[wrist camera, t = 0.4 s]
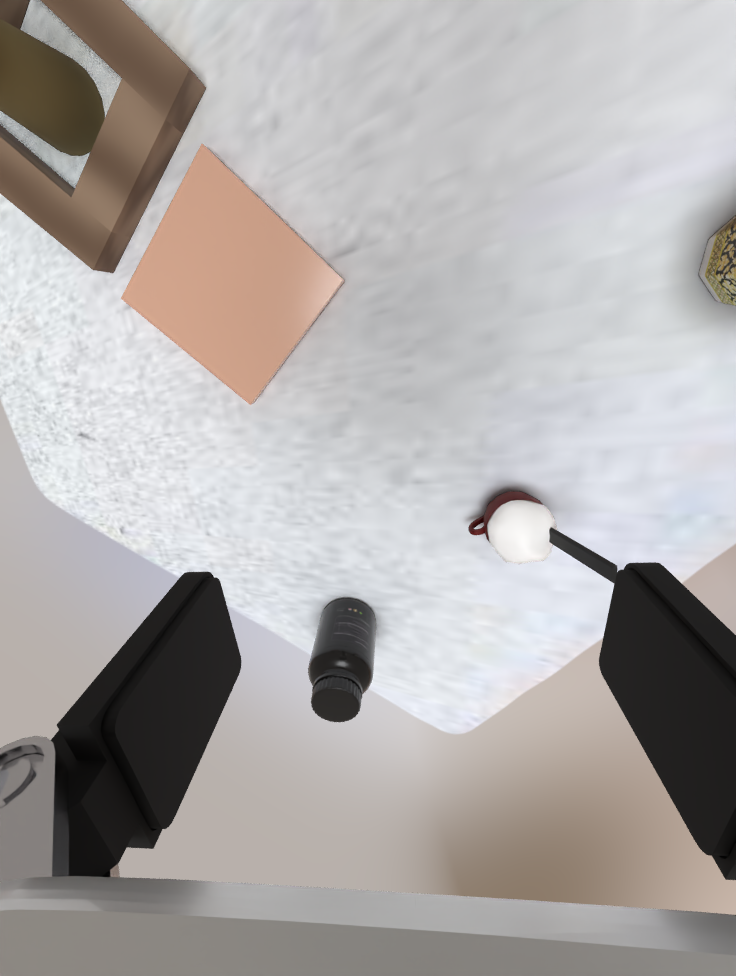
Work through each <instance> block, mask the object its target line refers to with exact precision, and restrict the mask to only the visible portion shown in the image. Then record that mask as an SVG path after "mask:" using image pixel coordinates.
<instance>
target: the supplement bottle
mask: <svg viewBox="0 0 736 976" xmlns="http://www.w3.org/2000/svg"><path fill="white" fill-rule="evenodd" d="M375 635H376V619H375V616H374V614H373V612H372V610H371V609H370V608H369V607H368V606H367V605H365V604H364V603H362V602H360V601H358V600H354V599H339V600H336V601H334V602H332V603H330V604H329V605H328V606H327V607H326V608H325V609H324V611H323V613H322V615H321V619H320V622H319V626H318V630H317V634H316V638H315V642H314V647H313V651H312V655H311V659H310V663H309V668H308V673H309V679H310V681H311V683H312V685H313V690H312V691H313V693H312V699H311V704H312V708H313V710H314V711H315V713H316V714H317V715H318V716H320V717H321V718H323V719H325V720H328V721H333V722H344V721H348V720H350V719H352V718H354V717H355V716H356V715H357V714H358V712H359V711H360V706H361V699H362V694H363V693H364V692H365V691H366V690H367V689H368V688H369V686H370V684H371V682H372V678H373V668H374V651H375Z"/></svg>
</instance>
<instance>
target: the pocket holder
mask: <svg viewBox="0 0 736 976" xmlns="http://www.w3.org/2000/svg"><path fill="white" fill-rule="evenodd" d="M41 1H42V2H43V3H44V4H45V5H46V6H47V7H48V8H49V9H50V10H51V11H52V12H54V13H55V14H56V15H57V16H58V17H59V18H60V19H61V20H62V21H63V22H64V23H65V24H66V25H67V26H68V27H69V28H70V29H71V30H72V31H73V32H74V33H75V34H77V35H78V36H79V37H80V38H81V39H82V40H83V41H84V42H85V43H86V44H87V45H88V46H89V47H90V48H91V49H92V50H93V51H94V52H95V53H96V54H97V55H98V56H100V57H101V58H102V59H103V60H104V61H105V62H106V63H107V64H108V65H109V66H110V67H111V68H112V69H113V70H114V71H115V72H116V73H117V74H118V75H119V76H120V77H121V78H122V80H121V82H120V84H119V87H118V89H117V91H116V94H115V96H114V99H113V101H112V103H111V106H110V108H109V110H108V113H107V115H106V117H105V120H104V122H103V124H102V127H101V129H100V131H99V134H98V136H97V138H96V141H95V143H94V145H93V148H92V150H91V152H90V155H89V157H88V160H87V162H86V164H85V167H84V169H83V171H82V174H81V176H80V178H79V181H78V183H77V185H76V188H75V189H74V188H73V187H72V186H71V185H69V184H68V183H67V182H66V181H65V180H64V179H62V178H61V177H60V176H59V175H58V174H57V173H56V172H54V171H53V170H52V169H51V168H50V167H49V166H47V165H46V164H45V163H44V162H43V161H42V160H40V159H39V158H38V157H37V156H36V155H35V154H34V153H32V152H31V151H30V150H29V149H28V148H27V147H25V146H24V145H23V144H22V143H21V142H20V141H19V140H17V139H16V138H15V137H14V136H13V135H12V134H10V133H9V132H8V131H7V130H6V129H5V128H3V127H2V126H1V125H0V193H1V194H2V195H3V196H4V197H5V198H7V199H8V200H9V201H10V202H11V203H13V204H14V205H15V206H16V207H17V208H19V209H20V210H21V211H22V212H24V213H25V214H26V215H27V216H28V217H30V218H31V219H32V220H33V221H34V222H36V223H37V224H38V225H39V226H40V227H42V228H43V229H44V230H45V231H47V232H48V233H49V234H50V235H51V236H53V237H54V238H55V239H56V240H57V241H59V242H60V243H61V244H62V245H63V246H65V247H66V248H67V249H68V250H70V251H71V252H72V253H73V254H74V255H76V256H77V257H78V258H79V259H80V260H82V261H83V262H84V263H85V264H86V265H88V266H89V267H90V268H91V269H93V270H97V271H104V272H110V273H113V272H114V270H115V268H116V266H117V264H118V262H119V260H120V258H121V256H122V254H123V252H124V250H125V249H126V247H127V245H128V243H129V241H130V239H131V237H132V235H133V233H134V231H135V229H136V227H137V225H138V223H139V221H140V219H141V217H142V215H143V213H144V211H145V209H146V207H147V205H148V203H149V201H150V199H151V197H152V195H153V193H154V191H155V189H156V187H157V185H158V183H159V181H160V179H161V177H162V175H163V173H164V171H165V169H166V167H167V165H168V163H169V161H170V159H171V157H172V155H173V153H174V151H175V149H176V147H177V145H178V143H179V141H180V139H181V137H182V135H183V133H184V131H185V129H186V127H187V125H188V123H189V121H190V119H191V117H192V115H193V113H194V111H195V109H196V107H197V105H198V103H199V101H200V99H201V97H202V95H203V93H204V91H205V89H206V87H205V86H204V85H203V84H202V82H201V81H200V80H199V79H198V78H197V77H196V75H195V74H194V73H193V72H192V71H191V70H190V68H189V67H188V66H187V65H186V64H185V63H184V62H183V61H182V60H181V59H180V58H179V57H178V56H177V55H176V54H175V53H174V52H173V51H172V50H171V49H170V48H169V47H168V46H167V45H166V44H165V43H164V42H163V41H162V40H161V39H160V38H159V37H158V36H157V35H156V34H155V33H154V32H153V31H152V30H151V29H150V28H149V27H148V26H147V25H146V24H145V23H144V22H143V21H142V20H141V19H140V18H139V17H138V16H137V15H136V14H135V13H134V12H133V11H132V10H131V9H130V8H129V7H128V6H127V5H126V4H125V3H124V2H123V1H122V0H41ZM28 3H29V0H0V19H2V20H4V21H5V22H7V23H9V24H11V25H12V26H14V27H16V28H18V29H20V27H21V24H22V21H23V18H24V15H25V12H26V9H27V6H28Z"/></svg>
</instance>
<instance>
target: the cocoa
mask: <svg viewBox="0 0 736 976" xmlns="http://www.w3.org/2000/svg"><path fill="white" fill-rule="evenodd" d="M483 522H484V526H483V527H482V528H480V529H474V528H475V527H476V526H477V525H479V524H481V523H483ZM469 532H470V533H471V534H472V535H481V534H484V533H485V534H486V537H487V540H488V541H489V542H490V544H491V545H492V547H493V548H494V549H495V551H496V552H497V553H498V554H499V555H500V557H501V558H502V559H503V560H504V561H505V562H512V563H516V564H522V563H528V562H537V561H544V560H545V559H546V558H547V557H548V556H549V555H550V554H551V551H552V546H553V545H555V546H556V547H558V548H560V549H561V550H563V551H564V552H566V553H567V554H569V555H571V556H572V557H574V558H575V559H577V560H578V561H580V562H581V563H583V564H585V565H586V566H588V567H589V568H591V569H592V570H594V571H596V572H597V573H599V574H600V575H602V576H603V577H605V578H607V579H608V580H610V581H611V582H613V583H615V579H616V575H617V565H615V564H613V563H612V562H610V561H608V560H607V559H605V558H603V557H601V556H600V555H598V554H596V553H595V552H593V551H591V550H589V549H588V548H586V547H584V546H583V545H581V544H579V543H577V542H576V541H574V540H572V539H571V538H569V537H567V536H565V535H564V534H562V533H560V532H559V531H557V526H556V523H555V520H554V517H553V515H552V514H551V513H550V511H549V510H548V508H547V507H546V506H545V505H543V504H542V503H541V502H540V501H539V500H538V499H536V498H534V497H532V496H530V495H528V494H526V493H524V492H514V491H509V492H506V493H504V494H501V495H498V496H497V497H496V498H495V499H493V500H492V501H491V502H490V503H489V504H488V507H487V509H486V512H485V514H484V516H482V517H480V518H478V519H476V520H475V521H473V522H472V523H471V524H470V525H469Z"/></svg>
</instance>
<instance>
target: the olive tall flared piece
mask: <svg viewBox="0 0 736 976" xmlns="http://www.w3.org/2000/svg"><path fill="white" fill-rule="evenodd" d="M0 111H2V112H3V113H5V114H6V115H8V116H9V117H11V118H12V119H14V120H15V121H16V122H18V123H19V124H21V125H22V126H24V127H25V128H27V129H28V130H30V131H31V132H32V133H34V134H35V135H37V136H38V137H40V138H41V139H43V140H44V141H46V142H47V143H49V144H50V145H51V146H53V147H54V148H56V149H57V150H59V151H61V152H63V153H66V154H68V155H71V156H83V155H85V154H87V153H89V152H91V150H92V148H93V145H94V143H95V141H96V138H97V136H98V134H99V131H100V129H101V127H102V124H103V122H104V118H105V114H104V109H103V103H102V98H101V96H100V94H99V91H98V89H97V87H96V84H95V82H94V81H93V80H92V78H91V77H90V75H89V74H88V73H87V71H86V70H85V69H84V68H83V67H82V66H80V65H79V64H78V63H77V62H76V61H74V60H73V59H71V58H70V57H68V56H66V55H64V54H63V53H61V52H59V51H57V50H55V49H54V48H52V47H50V46H48V45H46V44H45V43H43V42H41V41H39V40H37V39H36V38H34V37H32V36H30V35H29V34H27V33H25V32H23V31H21V30H20V29H18V28H16V27H14V26H12V25H11V24H9V23H7V22H5V21H4V20H2V19H0Z"/></svg>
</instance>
